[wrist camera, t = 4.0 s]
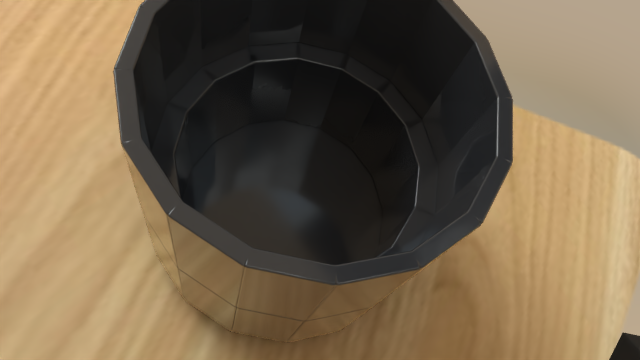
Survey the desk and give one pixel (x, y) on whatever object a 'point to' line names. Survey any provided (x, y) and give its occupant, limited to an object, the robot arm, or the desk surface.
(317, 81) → the cup
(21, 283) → the desk surface
